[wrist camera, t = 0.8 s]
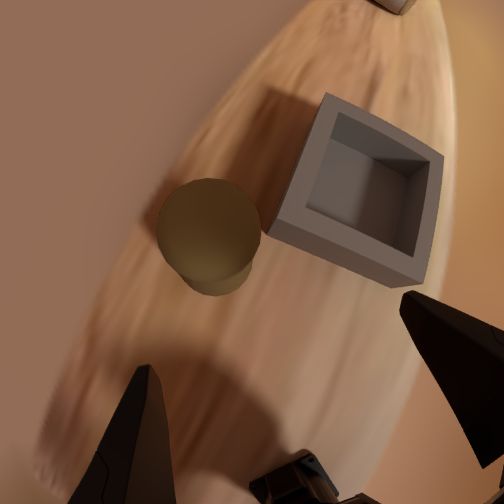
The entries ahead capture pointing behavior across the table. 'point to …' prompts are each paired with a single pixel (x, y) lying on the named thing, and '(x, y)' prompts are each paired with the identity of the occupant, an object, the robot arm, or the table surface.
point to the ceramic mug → (397, 5)
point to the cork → (210, 235)
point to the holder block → (362, 196)
